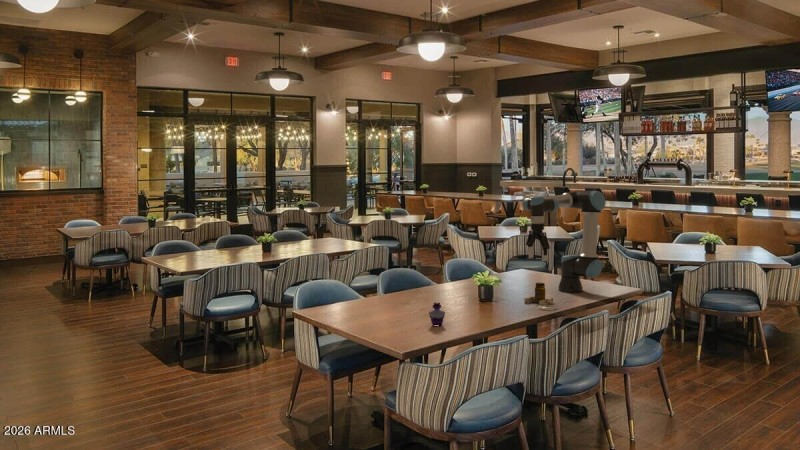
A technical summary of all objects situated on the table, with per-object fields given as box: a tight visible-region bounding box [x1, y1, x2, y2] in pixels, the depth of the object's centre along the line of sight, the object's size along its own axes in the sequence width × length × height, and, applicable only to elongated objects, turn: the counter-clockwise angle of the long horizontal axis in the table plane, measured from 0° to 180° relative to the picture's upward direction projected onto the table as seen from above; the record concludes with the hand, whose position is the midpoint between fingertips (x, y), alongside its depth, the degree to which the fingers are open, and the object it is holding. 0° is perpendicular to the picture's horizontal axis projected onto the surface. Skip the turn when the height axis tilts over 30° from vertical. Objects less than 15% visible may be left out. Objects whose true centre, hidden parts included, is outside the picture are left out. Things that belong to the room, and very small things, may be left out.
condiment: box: [530, 282, 546, 306], centre depth 376 cm, size 7×8×12 cm
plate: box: [537, 304, 558, 311], centre depth 363 cm, size 11×11×1 cm
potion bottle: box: [428, 301, 446, 326], centre depth 330 cm, size 9×9×12 cm
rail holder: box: [523, 295, 554, 306], centre depth 376 cm, size 12×12×3 cm
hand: (537, 259), depth 371 cm, fingers open, 13 cm apart
